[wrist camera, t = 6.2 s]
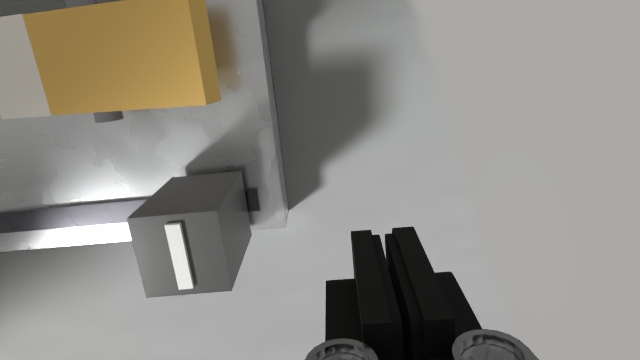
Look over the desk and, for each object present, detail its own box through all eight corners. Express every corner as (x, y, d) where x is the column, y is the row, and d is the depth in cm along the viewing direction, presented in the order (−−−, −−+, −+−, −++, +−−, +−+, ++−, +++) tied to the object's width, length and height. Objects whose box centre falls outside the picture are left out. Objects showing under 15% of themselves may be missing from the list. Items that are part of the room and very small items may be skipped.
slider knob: (251, 234, 19) (230, 292, 15) (185, 240, 19) (144, 300, 15) (241, 171, 18) (215, 212, 14) (172, 177, 18) (124, 220, 14)
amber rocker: (223, 110, 16) (207, 117, 15) (29, 122, 18) (2, 129, 17) (202, -19, 14) (183, -23, 13) (-5, 11, 17) (-36, 10, 15)
